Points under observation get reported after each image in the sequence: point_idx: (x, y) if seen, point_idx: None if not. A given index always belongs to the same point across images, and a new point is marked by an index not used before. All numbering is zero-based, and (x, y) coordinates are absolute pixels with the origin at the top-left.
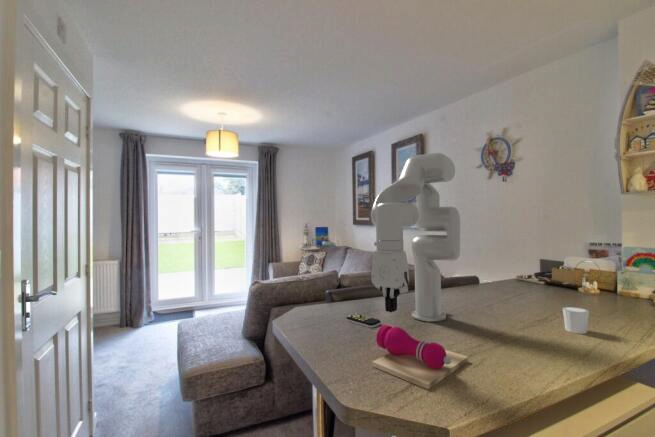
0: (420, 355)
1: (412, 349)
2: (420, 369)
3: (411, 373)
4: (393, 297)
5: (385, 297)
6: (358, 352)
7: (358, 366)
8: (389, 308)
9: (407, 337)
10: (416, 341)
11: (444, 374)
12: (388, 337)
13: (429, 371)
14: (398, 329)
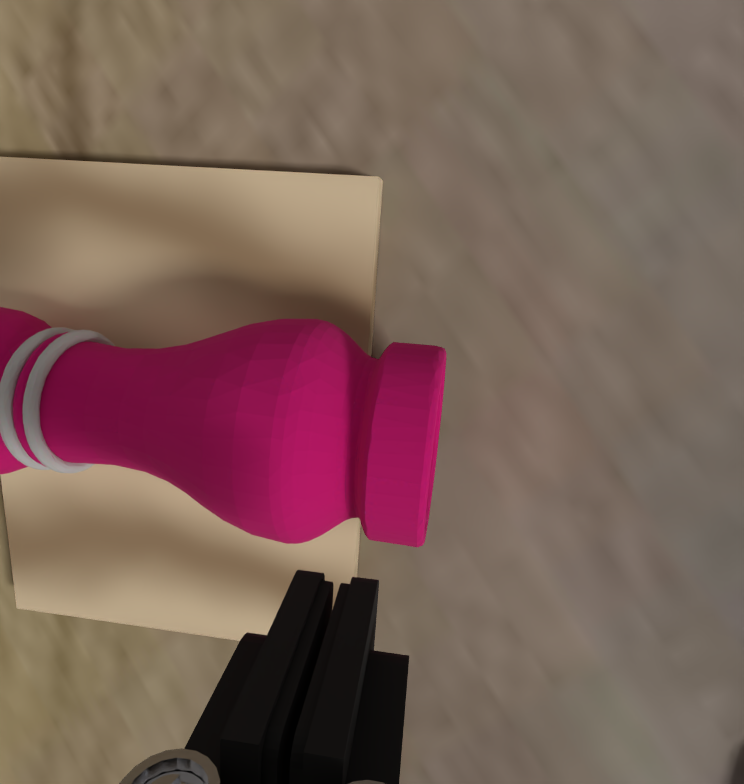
0: (49, 328)
1: (110, 351)
2: (91, 295)
3: (95, 208)
4: (139, 778)
5: (339, 759)
6: (596, 304)
7: (458, 108)
8: (295, 599)
9: (146, 417)
10: (77, 413)
11: None
12: (292, 342)
13: (44, 307)
14: (227, 453)
